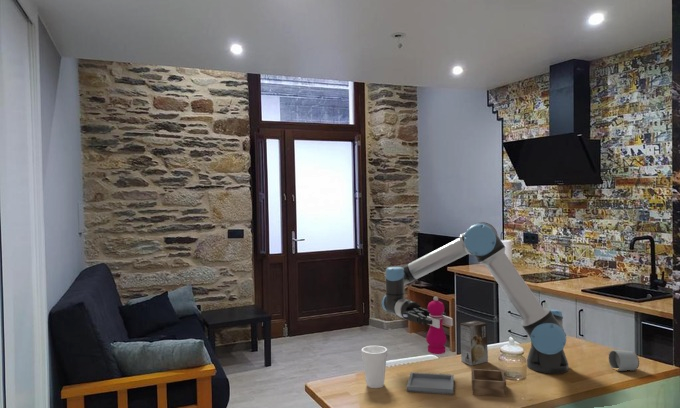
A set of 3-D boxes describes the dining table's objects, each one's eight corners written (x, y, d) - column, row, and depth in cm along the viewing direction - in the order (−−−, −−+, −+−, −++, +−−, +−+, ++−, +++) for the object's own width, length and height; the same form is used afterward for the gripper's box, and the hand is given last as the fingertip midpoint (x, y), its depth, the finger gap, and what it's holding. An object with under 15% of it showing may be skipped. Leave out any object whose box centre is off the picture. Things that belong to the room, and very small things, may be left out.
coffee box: (477, 357, 199) (476, 319, 199) (488, 362, 194) (487, 323, 194) (460, 361, 195) (459, 322, 195) (471, 366, 189) (470, 326, 189)
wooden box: (503, 384, 170) (503, 370, 170) (506, 397, 159) (506, 382, 159) (471, 382, 172) (471, 368, 172) (472, 394, 162) (472, 380, 162)
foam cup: (378, 391, 166) (377, 355, 166) (357, 386, 172) (356, 350, 171) (392, 383, 173) (391, 348, 173) (371, 378, 179) (370, 344, 179)
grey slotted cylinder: (641, 372, 178) (640, 352, 178) (620, 373, 177) (620, 353, 177) (622, 363, 188) (622, 344, 188) (603, 364, 188) (602, 345, 188)
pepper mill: (422, 349, 172) (422, 295, 172) (439, 347, 175) (439, 293, 175) (433, 355, 166) (432, 299, 165) (450, 353, 168) (450, 297, 168)
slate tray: (453, 379, 175) (453, 374, 175) (453, 394, 162) (453, 389, 162) (410, 376, 179) (410, 372, 179) (406, 391, 166) (406, 386, 166)
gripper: (427, 316, 190) (465, 330, 169) (388, 322, 182) (424, 337, 161) (426, 298, 190) (465, 309, 169) (388, 302, 182) (424, 315, 161)
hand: (445, 323), depth 165 cm, fingers closed on pepper mill, 5 cm apart
